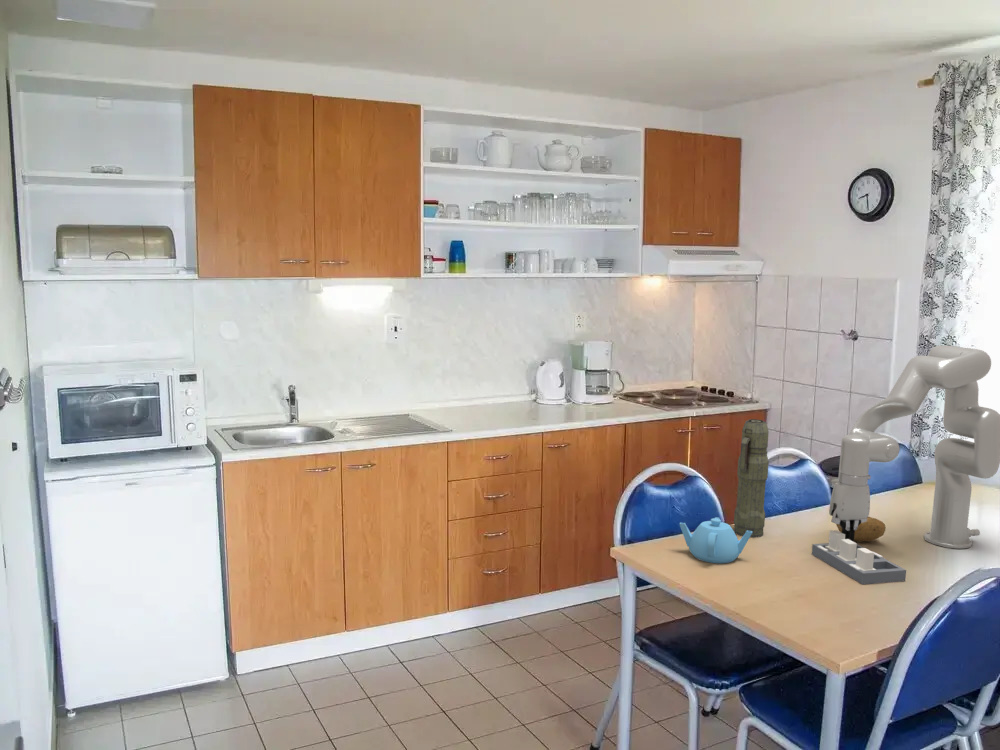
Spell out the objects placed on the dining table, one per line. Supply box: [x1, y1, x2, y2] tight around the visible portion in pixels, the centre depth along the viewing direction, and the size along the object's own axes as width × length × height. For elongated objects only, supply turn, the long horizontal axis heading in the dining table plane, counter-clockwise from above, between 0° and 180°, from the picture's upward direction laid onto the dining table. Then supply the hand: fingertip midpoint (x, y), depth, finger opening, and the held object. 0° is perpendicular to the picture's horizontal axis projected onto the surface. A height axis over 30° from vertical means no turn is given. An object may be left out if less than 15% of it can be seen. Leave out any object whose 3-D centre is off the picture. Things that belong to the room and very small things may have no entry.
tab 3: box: [853, 547, 876, 571], centre depth 215 cm, size 4×4×6 cm
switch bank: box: [811, 542, 907, 585], centre depth 223 cm, size 13×22×3 cm, turn 13°
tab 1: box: [825, 529, 845, 552], centre depth 229 cm, size 4×4×6 cm
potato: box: [835, 516, 886, 543], centre depth 245 cm, size 10×14×8 cm
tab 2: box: [836, 539, 858, 561], centre depth 222 cm, size 4×4×6 cm
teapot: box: [679, 516, 752, 564], centre depth 229 cm, size 15×15×11 cm
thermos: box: [733, 418, 770, 538], centre depth 247 cm, size 9×12×35 cm
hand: (847, 542), depth 230 cm, fingers closed
